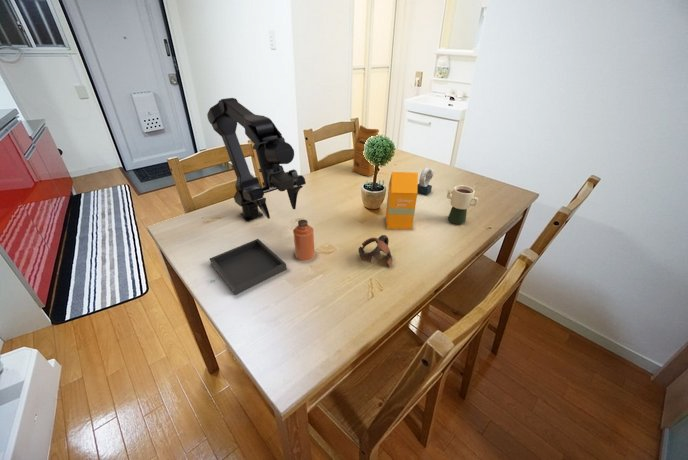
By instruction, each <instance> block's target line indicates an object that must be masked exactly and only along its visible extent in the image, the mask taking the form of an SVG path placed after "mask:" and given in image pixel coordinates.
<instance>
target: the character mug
mask: <svg viewBox="0 0 688 460" xmlns="http://www.w3.org/2000/svg"><path fill="white" fill-rule="evenodd" d="M474 196H475V189H474V188H473V187H471V186H469V185H463V184H462V185H459V184H458V185H455V186H454V187H453V189H452V190H451V189H447V193H446V199H449V200H450V205H451V208H450V211H449V214H448V217H447V220H448V221H449V222H450V223H452V224H455V225H461V224H464V223H466V220H467V212H468V209H470V208H471V206H472V207H477V206H478V202H479V198H478V197H476V196H475V197H474ZM473 201H474V202H473Z"/></svg>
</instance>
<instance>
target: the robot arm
mask: <svg viewBox="0 0 688 460" xmlns="http://www.w3.org/2000/svg"><path fill="white" fill-rule="evenodd" d="M206 116H207V120H208V122H209V124H210V125H211V126H212V129H213V131H214V132H216V134H218V135H219V137H221V139H222V141H223V145H224V147H225V149H226V152H227V155H228V159H229V160H230V163H231V166H232V168H233V170H234V173H235V177H236V181H235V186H234V187H235V190H236V192H235V193H234V196H233V199H234V202H235V204H237V205H238V206H239V207H241V210H242V212H241V213H239V215H240V217H241V218H243V220H245V221H246V222H250V221H253V220H256V219H259V218H261V217H263V216H265V218H267V219H268V220H269V219H271V216H270V212H269V208H268V206H267V198H266V197H264V196H265V194H267V193H270V192H274V191H277V190H278V191H279V192H285V191H286V193H287V195H288V200H289V203H290V206H291V208H292V210H296V208H297V200H298V194H299V192H300V190H301V189H302V188H303V187H304V185H306V179H305V177H304V176H303V175H302V174H299V173H298V171H297V170H296V169H294V168H293V169H291V170H288V171H285V169H284V167H283V165H288V164H290V163H291V162H292V161H293V160H294V158H295V149H294V148H293V147H292V145H291V144H290V143H289V142H286V140H285V137H283V134H282V133H281V132H280V130H279V129H278V128H277V126H276V125H275V123H274V122H273V121H272V119H270V118H269V116H265V115H260V114H255V113H254V112H252V111H251V110H249V109H248V108H247V107H245V106H244V105H243V104H241V103H240V102H239V101H238V100H237V98H235V97H226V98H221V99H219V100H218V101H217V103H216V104H214V105H213V106H211V107H210V108H209V109H208V111H207V114H206ZM238 124H239V125H240V126H241V127H242V128H244V134H245V135H246V137H247V138H248V139H249V140H250V141H251V142H252V143H253V146H252V149H253V150H255V153H256V157H257V161H258V165H259V168H258V172H259V173H260V174H261V176H262V179H263V181H262V182H261V183H262V185H261V184H260V181H259V178H258V177H255V176H254V175H252V174H251V171H250V169H249V166H248V163H247V160H246V158H245V155H244V152H243V149H242V146H241V144H240V141H239V138H238V136H237V132H236V131H237V126H238ZM262 186H263V187H262ZM259 210H260V211H259ZM261 212H262V213H261Z"/></svg>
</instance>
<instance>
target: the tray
mask: <svg viewBox="0 0 688 460" xmlns="http://www.w3.org/2000/svg"><path fill="white" fill-rule="evenodd" d="M209 262H210V265H211V267H213V269H214V271H216V272H217V274H218V275H219V277H221V279H222V280H223V281H224V282H225V283H226V285H227V286H228V287H229V288H230V290H231V291H232V292H233V294H234V295H235V296H237V295H240V294H241V293H243V292H246V291H247V290H249V289H251V288H253V287H255V286H258V285H259V284H261V283H263V282H266V281H267V280H270V279H271V278H273V277H276V276H277V275H279V274H281V273H283V272H286V271H287V270H288V269H287V263H286V262H285V261H283V259H281V258H280V257H279V256H278V255H277V254H276V253H275V252H273V250H272V249H270V248H269V247H268V246H267V244H265V243H263V242H262V240H260V239H259V238H256V239H254V240H251V241H249V242H246V243H244V244H241V245H239V246H237V247H234V248H231V249H229V250H227V251H224V252H221V253H220V254H217V255H215V256H212V257H210V258H209Z"/></svg>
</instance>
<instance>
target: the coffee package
mask: <svg viewBox="0 0 688 460" xmlns="http://www.w3.org/2000/svg"><path fill="white" fill-rule="evenodd" d="M379 132H380V130H379V129H378V128H367V127H365V126H363V125H362V124H360V125H359V128H358V131H357V134H356V135H357V136H356V138H355V142H354V149H353V155H352V156H353V157H352V158H353V165H352V167H353V169H352V171H353V172H355V173H358V174H359V175H362V176H367V177H371V176H372V175H374V174H375V173H374V166H373V165H371V164H370V163H369V162H368V161H367V160H366V159H365V157H364V155H363V151H364V144H365V142H366V140H367V139H368V138H369V137H371V136H376V135H378V136H379ZM373 173H374V174H373Z"/></svg>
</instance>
